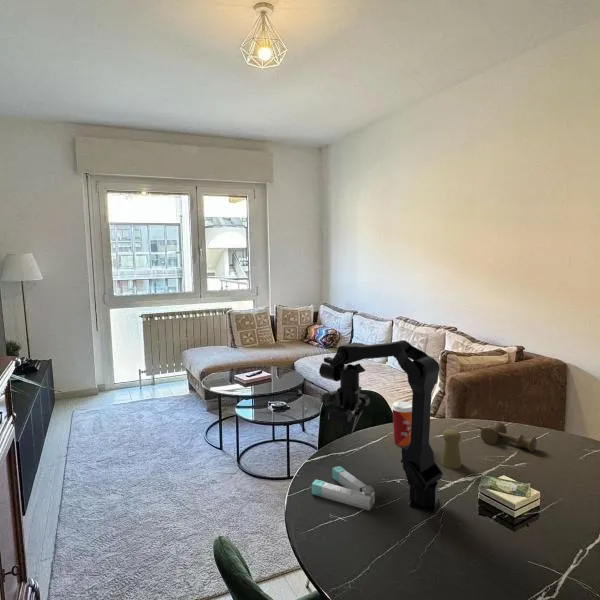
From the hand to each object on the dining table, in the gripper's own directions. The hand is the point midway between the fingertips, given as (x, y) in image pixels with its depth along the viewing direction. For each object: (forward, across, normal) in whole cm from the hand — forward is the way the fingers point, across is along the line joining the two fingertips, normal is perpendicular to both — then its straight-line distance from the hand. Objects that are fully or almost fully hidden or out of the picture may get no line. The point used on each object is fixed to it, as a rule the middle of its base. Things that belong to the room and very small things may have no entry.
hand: (349, 433), depth 137 cm
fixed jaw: (+12, +15, +4) cm, 19 cm away
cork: (+12, -18, +27) cm, 34 cm away
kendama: (+12, -42, +40) cm, 60 cm away
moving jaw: (+12, +9, +4) cm, 15 cm away
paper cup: (+12, -26, +9) cm, 30 cm away
